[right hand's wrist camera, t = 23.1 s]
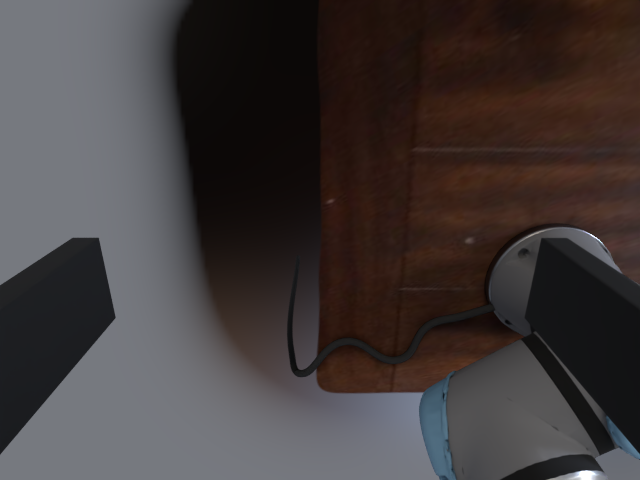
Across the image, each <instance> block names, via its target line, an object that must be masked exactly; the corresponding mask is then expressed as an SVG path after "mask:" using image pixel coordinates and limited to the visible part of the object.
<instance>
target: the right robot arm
mask: <svg viewBox="0 0 640 480" xmlns="http://www.w3.org/2000/svg"><path fill="white" fill-rule="evenodd" d="M299 265H300V256H299V255H297V256H296V264H295V271H294V277H293V284H292V289H291V296H290V302H289V310H288V321H287V343H288V352H289V359H290V367H291V370H292V372H293V373H294V374H295V375H296V376H298V377H306V376H308V375H310V374H311V373H312V372H314V370H315V369H316V368H317V367H318V366H319V365H320V363H321V362H322V361H323V360H324V358H325V357H326V356H327V355H328V354H329V353H330V352H331V351H332V350H334V349H335V348H337V347H339V346H343V345H354V346H357V347H359V348H361V349H363V350H365V351H366V352H368V353H369V354H370V355H372V356H373V357H375V358H376V359H378V360H380V361H382V362H385V363H388V364H397V363H402V362H404V361H406V360H408V359H409V358H410V357H411V356H412V355H413V354H414V352H415V351H416V349H417V347H418V345H419V343H420V341H421V339H422V337H423V336H424V334H425V333H426V332H427V331H428V330H430V329H431V328H433V327H435V326H437V325H440V324H444V323H449V322H455V321H460V320H464V319H467V318H471V317H475V316H478V315H481V314H485V313H488V312H492V311H494V313H495V314H496V315H497V317H498V318H499V319H500V320H501V321H502V322H503V323H504V324H505V325H506V326H508V327H509V328H511V329H512V330H514V331H516V332H518V333H519V334H521V335H523V336H525V337H524V338H522V339H519V340H517V341H515V342H514V343H512V344H510V345H508V346H506V347H504V348H502V349H500V350H498V351H496V352H494V353H492V354H490V355H488V356H486V357H484V358H482V359H480V360H478V361H476V362H474V363H472V364H470V365H468V366H466V367H464V368H462V369H460V370H458V371H453V372H451V373H450V374H448V376H447V377H446V378H445V379H443V380H441V381H440V382H438V383H436V384H434V385H433V386H431V387H429V388H428V389H427V390H426V391H425V392H424V393H423V396H422V398H421V402H420V406H419V416H420V424H421V430H422V434H423V438H424V442H425V446H426V449H427V452H428V455H429V458H430V461H431V464H432V466H433V469H434V471H435V473H436V475H438V476H439V478H440V480H608V477H607V476H606V474H605V473H604V471H603V470H602V469H601V467H600V466H599V464H598V463H597V461H596V460H595V458H596V457H597V456H600V455H602V454H604V453H607V452H609V451H611V450H613V449H616V448H618V447H619V448H620V449H622V450H624V451H625V452H626V453H628V454H630V455H632V456H633V457H635V458H637V459H639V460H640V285H639V284H637V283H636V282H634V281H633V280H631V279H629V278H628V277H626V276H625V275H623V274H622V272H621V271H620V269H619V268H618V267H617V266H616V265H615V264H614V261H613V258H612V256H611V254H610V253H609V251H608V250H607V248H606V247H605V246H604V245H603V244H602V242H601V241H600V240H598V239H597V238H596V237H594V236H593V235H591V234H590V233H588V232H586V231H584V230H582V229H580V228H578V227H575V226H572V225H567V224H546V225H541V226H537V227H534V228H531V229H529V230H526V231H524V232H522V233H520V234H519V235H517V236H515V237H514V238H513V239H511V240H510V241H509V242H508V243H506V244H505V245H504V246H503V247H502V248H501V249H500V251H499V252H498V253H497V254H496V256H495V257H494V259H493V261H492V262H491V264H490V267H489V269H488V272H487V276H486V282H485V291H486V297H487V300H488V303H489V304H488V305H485V306H481V307H478V308H475V309H471V310H468V311H464V312H461V313H457V314H452V315H446V316H441V317H437V318H434V319H432V320H430V321H428V322H426V323H425V324H424V325H423V326H422V327H421V328H420V329H419V330H418V332H417V333H416V335H415V337H414V339H413V341H412V343H411V345H410V347H409V349H408V350H407V351H406V352H405V353H404V354H402V355H400V356H395V357H389V356H385V355H383V354H381V353H380V352H378V351H377V350H375V349H374V348H372V347H371V346H369V345H368V344H366V343H365V342H363V341H361V340H358V339H355V338H341V339H338V340H335V341H333V342H332V343H330V344H329V345H327V346H326V347H325V348H324V349H323V350H322V351H321V352H320V354H319V355H318V356H317V357H316V359H315V360H314V361H313V362H312V364H311V365H310V366H309V367H308V368H306V369H304V370H299V369H298V367H297V364H296V357H295V351H294V345H293V312H294V302H295V295H296V288H297V281H298V274H299ZM114 319H115V313H114V308H113V304H112V299H111V294H110V289H109V284H108V280H107V275H106V270H105V266H104V261H103V256H102V251H101V247H100V242H99V238H72V239H70V240H69V241H67V242H66V243H64V244H63V245H61V246H60V247H58V248H57V249H55V250H53V251H52V252H50V253H49V254H47V255H46V256H44V257H43V258H41V259H40V260H38V261H37V262H35V263H34V264H32V265H31V266H29V267H28V268H26V269H25V270H23V271H21V272H20V273H18V274H17V275H15V276H14V277H12V278H11V279H9V280H8V281H6V282H5V283H3V284H2V285H0V454H1V453H2V452H3V450H4V449H5V448H6V447H7V446H8V445H9V443H10V442H11V441H12V440H13V439H14V437H15V436H16V435H17V434H18V433H19V431H20V430H21V429H22V428H23V427H24V426H25V424H26V423H27V422H28V421H29V420H30V419H31V417H32V416H33V415H34V414H35V413H36V411H37V410H38V409H39V408H40V407H41V405H42V404H43V403H44V402H45V401H46V400H47V398H48V397H49V396H50V395H51V394H52V392H53V391H54V390H55V389H56V388H57V387H58V385H59V384H60V383H61V382H62V381H63V379H64V378H65V377H66V376H67V375H68V374H69V372H70V371H71V370H72V369H73V368H74V366H75V365H76V364H77V363H78V362H79V361H80V359H81V358H82V357H83V356H84V355H85V353H86V352H87V351H88V350H89V349H90V348H91V346H92V345H93V344H94V343H95V342H96V340H97V339H98V338H99V337H100V336H101V335H102V333H103V332H104V331H105V330H106V329H107V327H108V326H109V325H110V324H111V323H112V321H113V320H114Z"/></svg>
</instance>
